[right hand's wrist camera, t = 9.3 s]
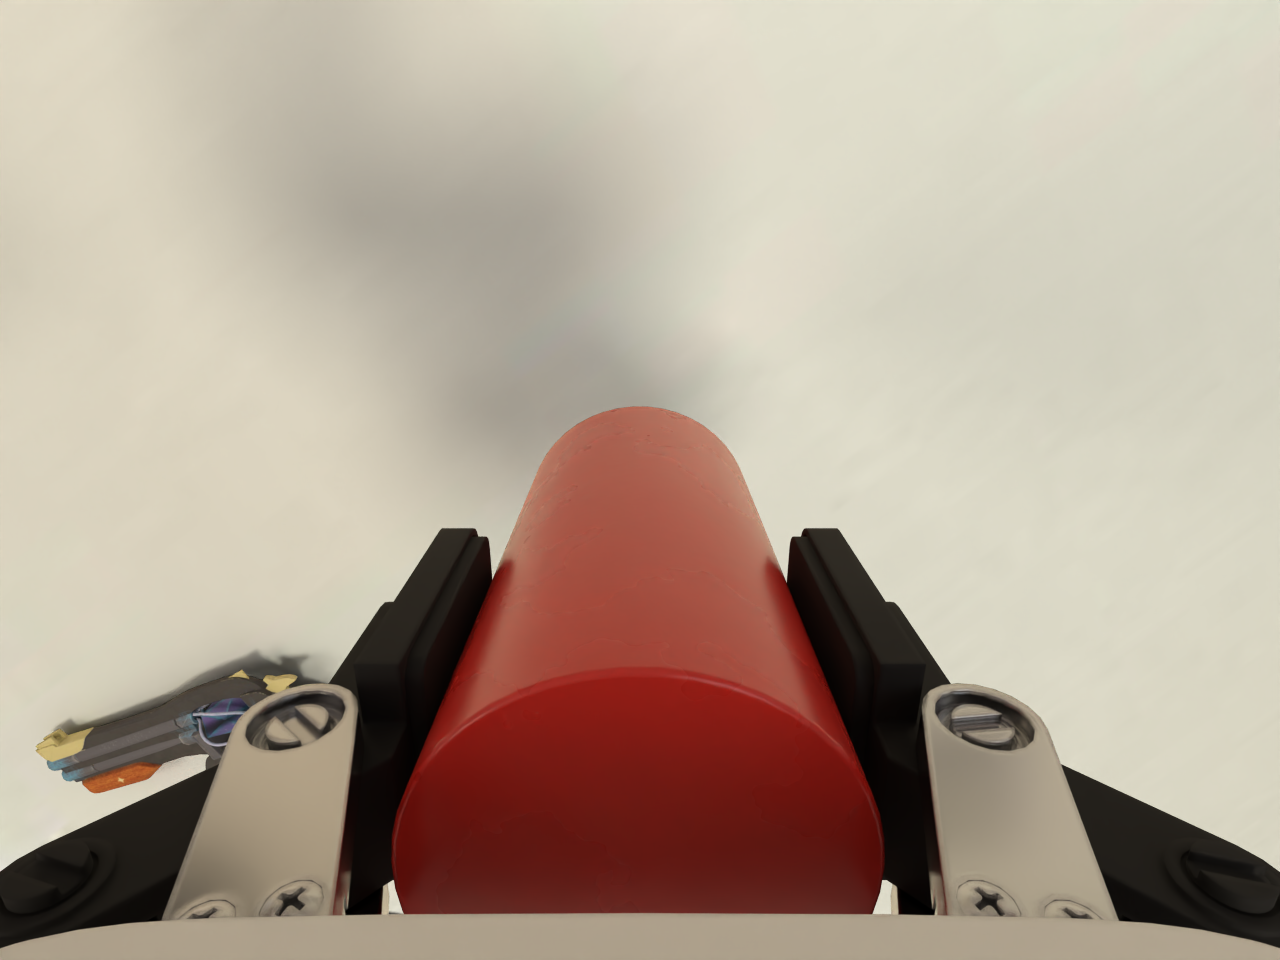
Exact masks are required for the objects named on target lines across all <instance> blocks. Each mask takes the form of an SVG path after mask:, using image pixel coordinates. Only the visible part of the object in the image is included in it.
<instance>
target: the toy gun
mask: <svg viewBox="0 0 1280 960" xmlns="http://www.w3.org/2000/svg"><path fill="white" fill-rule="evenodd" d="M297 677H298V676H296V675H292V674H287V675H280V676H272V675H266V676H265V678H264V679H263V680H260V679H257V678H254V677H251V676H248V675H246V674H245V673H244V672H243V671H242V670H241V671H239V672H237V673H235V674H234V675H230V676H226V677H223V678H220V679H217V680H214V681H211V682H209V683H206V684H203V685H200V686H197V687H194V688H192V689H190V690H187V691H185V692H183V693H181V694H180V695H178V696H176V697H175V698H173V699H171V700H170V701H168V702H167V703H165V704H164V705H162V706H159V707H157V708H154V709H151V710H148V711H145V712H143V713H140V714H137V715H134V716H131V717H128V718H125V719H122V720H119V721H115V722H112V723H109V724H106V725H103V726H99V727H93V728H90V729H86V730H83V731H80V732H77V733H73V734H70V735H67V734H66V733H64V732H63V731H62V730H61V729H58V730H56V731H55V732H53V733H51V734H49V735H48V736H46V737H45V738H44V740H45V741H43V742H41V743H39V744H38V745H37V746H36V747H37V748H38V749H37V750H36V752H38V753H39V754H40V755H41V756H42V757H43V758H45V759H46V760H47V765H48V768H49V769H51V770H54V771H56V770H63V771H62V776H63V779H64V780H66V781H73V780H74V781H76V782H79V781H82V784H83V785H84V786H85V787H86V788H87V789H88V790H89V791H90V792H93V793H101V792H105V791H108V790H112V789H115V788H119V787H122V786H126V785H129V784H133V783H136V782H140V781H143V780H146V779H149V778H150V777H151V776H152V775H153V774H154V773H155V772H156V771H157V770H158V768H159V767H160V766H161V765H162V764H163V763H165V762H168V761H171V760H174V759H178V758H181V757H184V756H191V755H198V754H208V755H209V757H208V758H207V760H206V770H207V769H209V768H211V767H214V766H216V765H218V764H219V763H220V761H221V758H222V755H223V753H224V750H225V747H226V744H227V742H228V739H229V736H230V734H231V731H232V729H233V727H234V726H235V724H236V722H237V721H238V719H239V718H240V717H241V716H242V715H243V714H244V713H245V712H246V711H247V710H248V709H249V708H251V707H252V706H253V705H255V704H256V703H258V702H260V701H261V700H263V699H265V698H266V697H268V696H270V695H273V694H275V693H278V692H280V691H283V690H285V689H289V688H290V687H289V686H288V685H290V684H291V683H293V682H294V681H295V680H296V679H297ZM210 703H211V705H210V706H209V707H208V708H207V709H206V710H205V712H204V708H205V707H206V706H207V705H209V704H210Z"/></svg>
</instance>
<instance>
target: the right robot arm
mask: <svg viewBox="0 0 1280 960" xmlns="http://www.w3.org/2000/svg"><path fill="white" fill-rule="evenodd" d="M491 582H492V571H491V558H490V546H489V540H488V538H487V537H478V534H477V531H476V529H474V528H442V529H441V530H440V531H439V533H438V534H437V536H436V537H435V539H434V540H433V542H432V544H431V545H430V547H429V548H428V550H427V551H426V553H425V554H424V556H423V557H422V559H421V560H420V562H419V564H418V565H417V567H416V568H415V570H414V571H413V573H412V574H411V576H410V577H409V579H408V581H407V582H406V584H405V585H404V587H403V588H402V590H401V591H400V593H399V594H398V596H397V597H396V599H395V601H394V602H385V603H384V604H383V605H382V606H381V607H380V608H379V610H378V611H377V613H376V614H375V616H374V617H373V619H372V620H371V622H370V623H369V625H368V626H367V628H366V629H365V631H364V632H363V634H362V635H361V637H360V638H359V640H358V641H357V642H356V644H355V645H354V647H353V648H352V650H351V651H350V653H349V654H348V656H347V657H346V659H345V660H344V662H343V663H342V665H341V666H340V668H339V669H338V671H337V672H336V674H335V675H334V677H333V678H332V680H331V681H330V682H329V684H325V683H319V684H306V685H301V686H297V687H293V688H289V689H285V690H283V691H280V692H278V693H275V694H273V695H270V696H268V697H266V698H265V699H263V700H261V701H260V702H258V703H256V704H255V705H253V706H252V707H251V708H249V709H248V710H247V711H246V712H245V713H244V714H243V715H242V716H241V717H240V718H239V719H238V721H237V722H236V724H235V726H234V727H233V729H232V731H231V734H230V736H229V739H228V742H227V744H226V747H225V750H224V753H223V755H222V758H221V761H220V763H219V764H218V765H216V766H214V767H211V768H209V769H207V770H205V771H203V772H201V773H198V774H196V775H194V776H192V777H190V778H188V779H185V780H183V781H181V782H179V783H177V784H175V785H172V786H170V787H168V788H166V789H164V790H162V791H160V792H157V793H155V794H153V795H151V796H149V797H147V798H144V799H142V800H140V801H138V802H136V803H134V804H131V805H129V806H127V807H125V808H123V809H121V810H118V811H116V812H114V813H112V814H110V815H108V816H106V817H103V818H101V819H99V820H97V821H95V822H93V823H90V824H88V825H86V826H84V827H82V828H80V829H77V830H75V831H73V832H71V833H69V834H67V835H64V836H62V837H60V838H58V839H56V840H54V841H51V842H49V843H47V844H45V845H43V846H41V847H39V848H37V849H35V850H34V851H32V852H30V853H28V854H26V855H24V856H23V857H21V858H19V859H17V860H16V861H14V862H13V863H11V864H10V865H9V866H7V867H6V868H5V869H3V870H2V871H1V872H0V960H1280V872H1279V871H1278V870H1276V869H1275V868H1273V867H1272V866H1271V865H1269V864H1268V863H1267V862H1265V861H1264V860H1262V859H1261V858H1259V857H1257V856H1255V855H1253V854H1251V853H1250V852H1248V851H1246V850H1244V849H1242V848H1240V847H1239V846H1237V845H1235V844H1232V843H1230V842H1228V841H1226V840H1224V839H1222V838H1219V837H1217V836H1215V835H1213V834H1211V833H1209V832H1206V831H1204V830H1202V829H1200V828H1198V827H1196V826H1193V825H1191V824H1189V823H1187V822H1185V821H1183V820H1181V819H1178V818H1176V817H1174V816H1172V815H1170V814H1168V813H1165V812H1163V811H1161V810H1159V809H1157V808H1155V807H1152V806H1150V805H1148V804H1146V803H1144V802H1142V801H1139V800H1137V799H1135V798H1133V797H1131V796H1129V795H1126V794H1124V793H1122V792H1120V791H1118V790H1116V789H1113V788H1111V787H1109V786H1107V785H1105V784H1103V783H1101V782H1098V781H1096V780H1094V779H1092V778H1090V777H1088V776H1085V775H1083V774H1081V773H1079V772H1077V771H1075V770H1072V769H1070V768H1068V767H1066V766H1064V765H1062V764H1061V763H1060V761H1059V758H1058V755H1057V753H1056V750H1055V747H1054V744H1053V742H1052V739H1051V736H1050V734H1049V731H1048V729H1047V727H1046V726H1045V724H1044V722H1043V721H1042V719H1041V718H1040V717H1039V716H1038V715H1037V714H1036V713H1035V712H1034V711H1033V710H1032V709H1031V708H1029V707H1028V706H1027V705H1025V704H1024V703H1022V702H1020V701H1019V700H1017V699H1015V698H1014V697H1012V696H1010V695H1007V694H1005V693H1002V692H1000V691H997V690H995V689H991V688H987V687H983V686H979V685H974V684H961V683H955V684H951V683H950V682H949V680H948V679H947V678H946V676H945V675H944V673H943V672H942V670H941V669H940V667H939V666H938V664H937V663H936V661H935V660H934V658H933V657H932V655H931V654H930V652H929V651H928V649H927V648H926V646H925V645H924V643H923V642H922V641H921V639H920V638H919V636H918V635H917V633H916V632H915V630H914V629H913V627H912V626H911V624H910V623H909V621H908V620H907V618H906V617H905V615H904V614H903V612H902V611H901V609H900V608H899V607H898V606H897V605H896V604H895V603H894V602H885V600H884V598H883V597H882V595H881V594H880V592H879V591H878V589H877V588H876V586H875V585H874V583H873V582H872V580H871V578H870V577H869V575H868V574H867V572H866V571H865V569H864V568H863V566H862V565H861V563H860V562H859V560H858V558H857V557H856V555H855V554H854V552H853V551H852V549H851V548H850V546H849V545H848V543H847V542H846V540H845V538H844V537H843V535H842V534H841V532H840V531H839V530H838V529H837V528H806V529H804V530H803V532H802V535H801V537H792V538H791V542H790V550H789V563H788V575H787V585H788V588H789V590H790V593H791V595H792V597H793V600H794V602H795V605H796V607H797V610H798V612H799V615H800V617H801V620H802V622H803V624H804V627H805V629H806V632H807V634H808V637H809V639H810V642H811V644H812V646H813V649H814V651H815V654H816V656H817V659H818V661H819V664H820V666H821V669H822V671H823V673H824V676H825V678H826V681H827V683H828V686H829V688H830V691H831V693H832V696H833V698H834V700H835V703H836V705H837V708H838V710H839V713H840V715H841V718H842V720H843V722H844V725H845V727H846V730H847V732H848V735H849V737H850V740H851V742H852V745H853V747H854V749H855V752H856V754H857V757H858V759H859V762H860V764H861V767H862V769H863V771H864V774H865V776H866V779H867V781H868V784H869V786H870V789H871V791H872V794H873V797H874V799H875V802H876V805H877V808H878V810H879V813H880V817H881V822H882V828H883V833H884V839H885V865H884V872H883V878H882V880H888V881H889V882H891V883H892V891H891V914H712V913H568V914H389V891H388V884H387V883H389V882H390V881H392V880H394V876H393V869H392V862H391V853H392V833H393V828H394V823H395V818H396V813H397V810H398V807H399V804H400V802H401V799H402V797H403V794H404V792H405V789H406V787H407V784H408V782H409V779H410V777H411V775H412V772H413V770H414V767H415V765H416V763H417V760H418V758H419V755H420V753H421V751H422V748H423V746H424V743H425V741H426V739H427V736H428V734H429V731H430V729H431V727H432V724H433V722H434V719H435V717H436V715H437V712H438V710H439V707H440V705H441V703H442V700H443V698H444V695H445V693H446V690H447V688H448V686H449V683H450V681H451V678H452V676H453V674H454V671H455V669H456V666H457V664H458V662H459V659H460V657H461V654H462V652H463V650H464V647H465V645H466V642H467V640H468V638H469V635H470V633H471V630H472V628H473V626H474V623H475V621H476V618H477V616H478V614H479V611H480V609H481V606H482V604H483V601H484V599H485V597H486V594H487V592H488V589H489V587H490V585H491Z"/></svg>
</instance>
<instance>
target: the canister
mask: <svg viewBox="0 0 1280 960" xmlns="http://www.w3.org/2000/svg"><path fill="white" fill-rule="evenodd" d="M391 862H392V869H393V876H394V883H395V889H396V892H397V895H398V898H399V901H400V904H401V907H402V911H403V913H404V914H568V913H712V914H873V911H874V908H875V905H876V902H877V899H878V896H879V894H880V889H881V884H882V878H883V872H884V865H885V839H884V833H883V828H882V822H881V817H880V813H879V810H878V808H877V805H876V802H875V799H874V797H873V794H872V791H871V789H870V786H869V784H868V781H867V779H866V776H865V774H864V771H863V769H862V767H861V764H860V762H859V759H858V757H857V754H856V752H855V749H854V747H853V745H852V742H851V740H850V737H849V735H848V732H847V730H846V727H845V725H844V722H843V720H842V718H841V715H840V713H839V710H838V708H837V705H836V703H835V700H834V698H833V696H832V693H831V691H830V688H829V686H828V683H827V681H826V678H825V676H824V673H823V671H822V669H821V666H820V664H819V661H818V659H817V656H816V654H815V651H814V649H813V646H812V644H811V642H810V639H809V637H808V634H807V632H806V629H805V627H804V624H803V622H802V620H801V617H800V615H799V612H798V610H797V607H796V605H795V602H794V600H793V597H792V595H791V593H790V590H789V588H788V585H787V583H786V580H785V578H784V575H783V573H782V571H781V568H780V566H779V563H778V561H777V558H776V556H775V553H774V551H773V548H772V546H771V544H770V541H769V539H768V536H767V534H766V531H765V529H764V526H763V524H762V521H761V519H760V517H759V514H758V512H757V509H756V507H755V504H754V502H753V499H752V497H751V495H750V492H749V490H748V487H747V485H746V482H745V480H744V477H743V475H742V472H741V470H740V468H739V466H738V464H737V462H736V460H735V459H734V457H733V455H732V454H731V452H730V451H729V450H728V448H727V447H726V446H725V444H724V443H723V442H722V441H721V440H720V439H719V438H718V437H717V436H716V435H715V434H713V433H712V432H711V431H710V430H708V429H707V428H706V427H704V426H703V425H701V424H700V423H698V422H696V421H694V420H693V419H691V418H689V417H686V416H684V415H682V414H679V413H676V412H673V411H669V410H665V409H661V408H654V407H625V408H617V409H613V410H609V411H605V412H602V413H600V414H597V415H595V416H592V417H590V418H588V419H586V420H584V421H582V422H581V423H579V424H577V425H576V426H574V427H573V428H572V429H570V430H569V431H568V432H566V433H565V434H564V435H563V436H562V437H561V438H560V439H559V440H558V441H557V442H556V443H555V444H554V445H553V447H552V448H551V449H550V450H549V452H548V453H547V454H546V456H545V458H544V460H543V461H542V463H541V465H540V467H539V469H538V472H537V474H536V476H535V479H534V481H533V484H532V486H531V488H530V491H529V493H528V496H527V498H526V500H525V503H524V505H523V508H522V510H521V512H520V515H519V517H518V520H517V522H516V525H515V527H514V529H513V532H512V534H511V537H510V539H509V541H508V544H507V546H506V549H505V551H504V553H503V556H502V558H501V561H500V563H499V565H498V568H497V570H496V573H495V575H494V577H493V580H492V582H491V585H490V587H489V589H488V592H487V594H486V597H485V599H484V601H483V604H482V606H481V609H480V611H479V614H478V616H477V618H476V621H475V623H474V626H473V628H472V630H471V633H470V635H469V638H468V640H467V642H466V645H465V647H464V650H463V652H462V654H461V657H460V659H459V662H458V664H457V666H456V669H455V671H454V674H453V676H452V678H451V681H450V683H449V686H448V688H447V690H446V693H445V695H444V698H443V700H442V703H441V705H440V707H439V710H438V712H437V715H436V717H435V719H434V722H433V724H432V727H431V729H430V731H429V734H428V736H427V739H426V741H425V743H424V746H423V748H422V751H421V753H420V755H419V758H418V760H417V763H416V765H415V767H414V770H413V772H412V775H411V777H410V779H409V782H408V784H407V787H406V789H405V792H404V794H403V797H402V799H401V802H400V804H399V807H398V810H397V813H396V818H395V823H394V828H393V833H392V853H391Z"/></svg>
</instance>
